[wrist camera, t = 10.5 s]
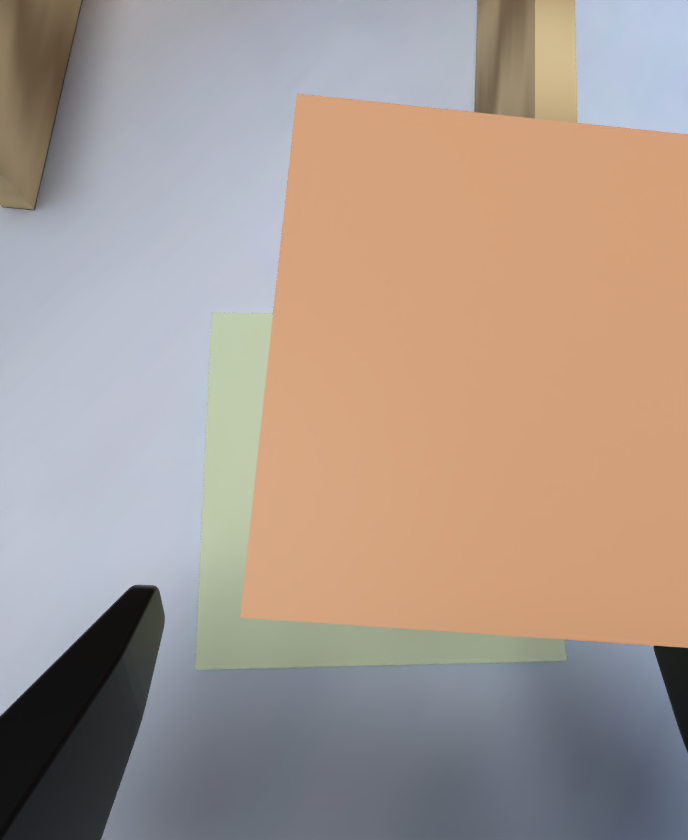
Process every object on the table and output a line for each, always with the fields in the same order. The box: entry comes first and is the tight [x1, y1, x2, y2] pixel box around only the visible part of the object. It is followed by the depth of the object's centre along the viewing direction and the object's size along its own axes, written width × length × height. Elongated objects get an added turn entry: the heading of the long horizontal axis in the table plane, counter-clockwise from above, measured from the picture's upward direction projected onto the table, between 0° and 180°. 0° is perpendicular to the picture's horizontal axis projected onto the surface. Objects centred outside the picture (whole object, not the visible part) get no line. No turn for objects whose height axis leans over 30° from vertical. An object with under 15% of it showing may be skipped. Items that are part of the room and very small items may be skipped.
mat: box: [195, 313, 567, 670], centre depth 18 cm, size 12×12×1 cm
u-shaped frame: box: [0, 0, 577, 210], centre depth 18 cm, size 14×19×6 cm
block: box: [240, 94, 688, 648], centre depth 11 cm, size 5×5×13 cm
